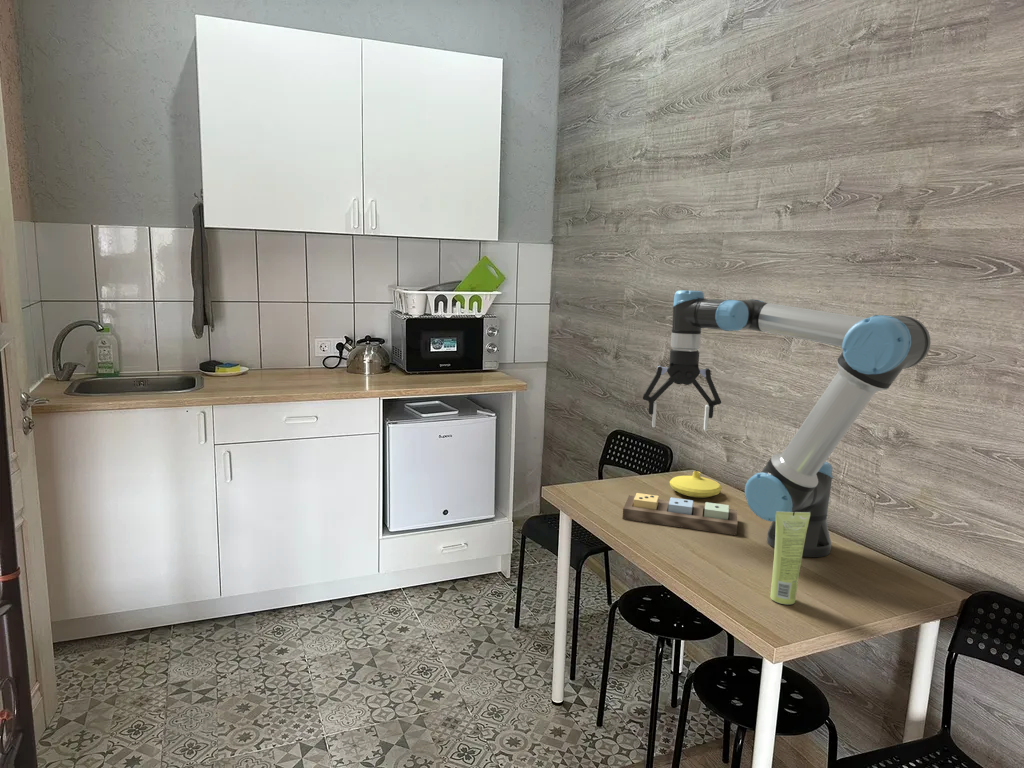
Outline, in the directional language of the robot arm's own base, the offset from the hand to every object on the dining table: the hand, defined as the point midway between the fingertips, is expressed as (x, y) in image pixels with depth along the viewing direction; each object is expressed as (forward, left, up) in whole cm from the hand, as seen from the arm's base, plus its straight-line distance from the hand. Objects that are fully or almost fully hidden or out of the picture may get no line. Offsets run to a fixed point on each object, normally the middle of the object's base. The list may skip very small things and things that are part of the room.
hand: (679, 428), depth 184 cm
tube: (-26, +38, -27) cm, 53 cm away
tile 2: (-2, -3, -24) cm, 25 cm away
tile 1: (-12, -3, -24) cm, 27 cm away
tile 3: (+7, -3, -24) cm, 26 cm away
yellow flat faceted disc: (-5, -29, -27) cm, 40 cm away
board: (-2, -3, -26) cm, 27 cm away
